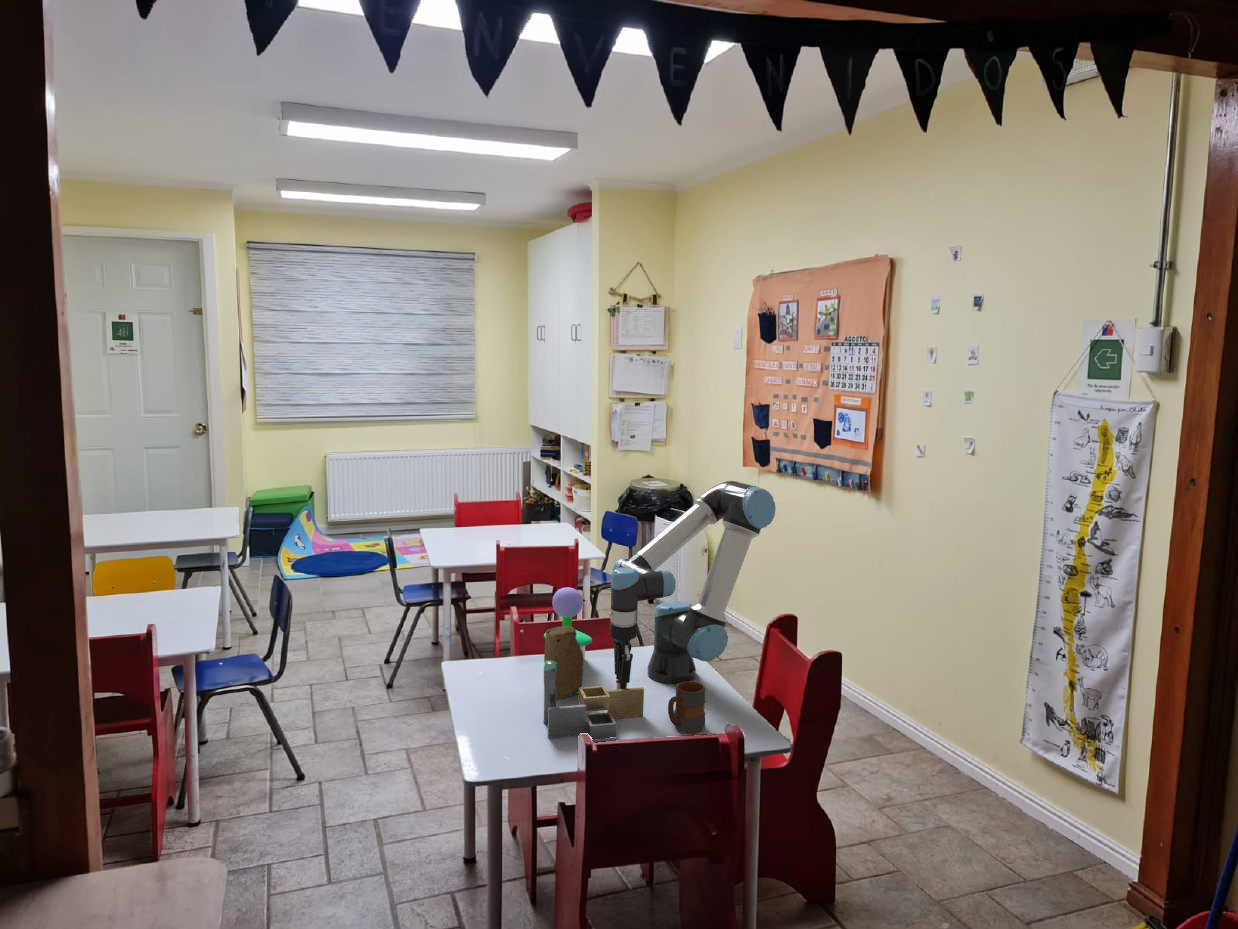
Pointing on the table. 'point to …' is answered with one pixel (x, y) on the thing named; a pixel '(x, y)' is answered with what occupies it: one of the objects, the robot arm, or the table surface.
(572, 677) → the brown rounded block
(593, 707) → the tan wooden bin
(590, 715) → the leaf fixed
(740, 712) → the table surface
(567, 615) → the toy character
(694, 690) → the mug
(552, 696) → the pin
